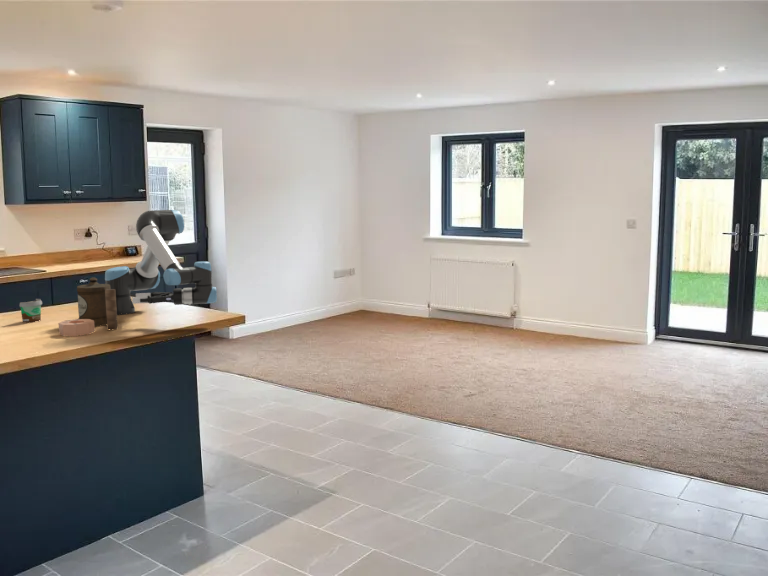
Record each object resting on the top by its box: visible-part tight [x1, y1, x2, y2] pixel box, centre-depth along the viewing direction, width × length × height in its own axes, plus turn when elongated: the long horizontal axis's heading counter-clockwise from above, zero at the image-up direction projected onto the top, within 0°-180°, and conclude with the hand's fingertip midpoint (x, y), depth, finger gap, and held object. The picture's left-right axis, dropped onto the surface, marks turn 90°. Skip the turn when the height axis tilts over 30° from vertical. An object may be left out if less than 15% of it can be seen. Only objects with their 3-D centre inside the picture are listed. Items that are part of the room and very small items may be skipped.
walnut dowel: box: [105, 289, 119, 331], centre depth 322 cm, size 4×4×18 cm
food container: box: [19, 298, 43, 323], centre depth 343 cm, size 12×6×10 cm, turn 168°
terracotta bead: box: [58, 318, 96, 337], centre depth 314 cm, size 13×13×5 cm
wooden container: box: [76, 276, 110, 327], centre depth 336 cm, size 15×15×22 cm
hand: (134, 298), depth 323 cm, fingers open, 13 cm apart
